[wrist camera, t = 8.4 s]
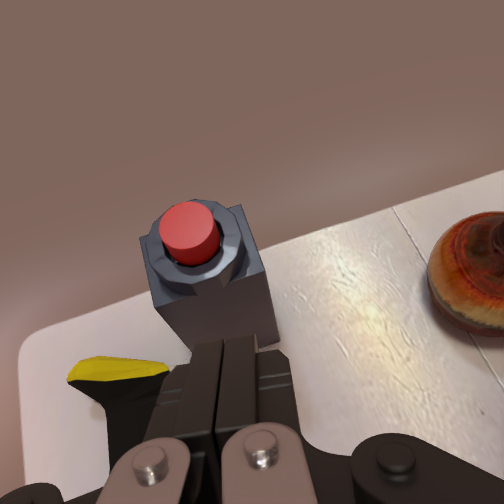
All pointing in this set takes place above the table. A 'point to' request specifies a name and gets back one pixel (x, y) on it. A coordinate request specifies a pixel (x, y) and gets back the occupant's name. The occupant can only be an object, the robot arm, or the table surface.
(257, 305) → the button pillar
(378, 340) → the table surface
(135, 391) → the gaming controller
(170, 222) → the button
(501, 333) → the vase
